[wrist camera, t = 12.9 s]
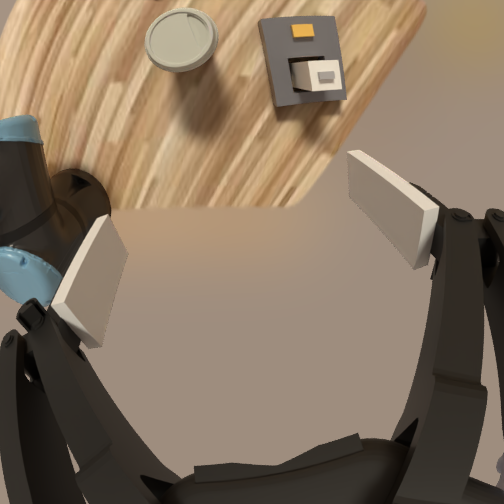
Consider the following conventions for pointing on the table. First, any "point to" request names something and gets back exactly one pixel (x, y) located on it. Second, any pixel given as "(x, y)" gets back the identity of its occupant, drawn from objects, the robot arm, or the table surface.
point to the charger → (316, 75)
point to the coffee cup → (181, 39)
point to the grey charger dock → (299, 54)
